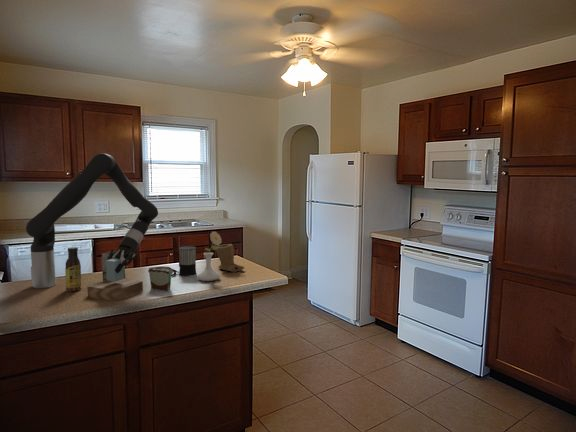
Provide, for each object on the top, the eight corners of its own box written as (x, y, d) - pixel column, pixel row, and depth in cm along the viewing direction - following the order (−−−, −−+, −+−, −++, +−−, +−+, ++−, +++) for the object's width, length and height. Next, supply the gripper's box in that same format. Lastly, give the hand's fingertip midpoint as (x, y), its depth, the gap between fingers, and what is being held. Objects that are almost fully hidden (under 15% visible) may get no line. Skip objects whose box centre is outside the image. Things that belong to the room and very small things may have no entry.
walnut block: (87, 297, 166) (87, 286, 165) (117, 287, 180) (116, 277, 180) (114, 302, 159) (114, 290, 159) (142, 291, 174) (142, 281, 173)
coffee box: (114, 287, 180) (113, 253, 178) (102, 286, 181) (101, 253, 179) (126, 282, 189) (124, 250, 187) (114, 281, 190) (113, 249, 188)
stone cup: (212, 269, 216) (212, 243, 214) (230, 266, 223) (230, 241, 222) (226, 274, 204) (226, 247, 203) (244, 271, 212) (244, 244, 210)
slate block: (106, 280, 168) (105, 260, 167) (115, 277, 172) (115, 258, 171) (115, 281, 166) (114, 261, 165) (124, 278, 170) (123, 259, 169)
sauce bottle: (70, 292, 170) (68, 249, 168) (63, 290, 173) (60, 248, 171) (84, 289, 176) (82, 247, 174) (77, 287, 179) (75, 246, 177)
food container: (178, 288, 179) (178, 267, 178) (170, 291, 173) (170, 270, 172) (157, 285, 183) (156, 265, 182) (148, 288, 177) (147, 268, 176)
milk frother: (200, 273, 206) (199, 247, 204) (177, 280, 192) (176, 251, 191) (182, 270, 213) (181, 244, 212) (159, 276, 200) (158, 248, 199)
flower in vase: (204, 284, 185) (203, 234, 183) (193, 279, 194) (192, 231, 191) (227, 279, 194) (226, 231, 191) (215, 275, 202) (215, 229, 200)
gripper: (115, 234, 177) (94, 265, 167) (138, 236, 171) (118, 268, 161) (124, 244, 182) (105, 274, 172) (147, 246, 177) (128, 277, 167)
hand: (111, 271), depth 167 cm, fingers closed on slate block, 5 cm apart
